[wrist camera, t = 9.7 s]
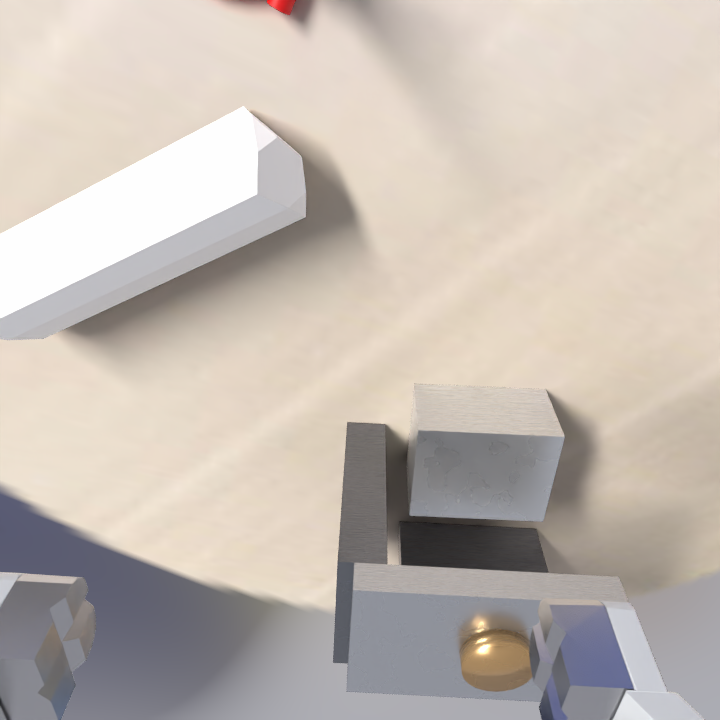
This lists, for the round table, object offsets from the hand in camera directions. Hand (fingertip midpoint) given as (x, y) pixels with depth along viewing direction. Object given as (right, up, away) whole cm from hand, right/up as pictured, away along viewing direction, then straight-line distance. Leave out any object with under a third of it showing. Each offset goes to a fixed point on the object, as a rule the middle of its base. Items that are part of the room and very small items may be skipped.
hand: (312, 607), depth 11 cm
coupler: (+8, -6, +42) cm, 43 cm away
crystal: (-13, +14, +31) cm, 37 cm away
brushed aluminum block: (+10, -1, +39) cm, 40 cm away
